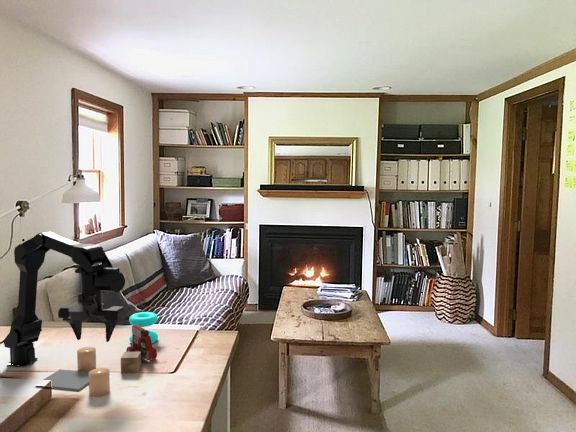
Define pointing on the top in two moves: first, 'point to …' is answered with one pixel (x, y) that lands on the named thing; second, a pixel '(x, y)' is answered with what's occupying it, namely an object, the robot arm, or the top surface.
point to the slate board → (69, 379)
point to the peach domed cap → (99, 382)
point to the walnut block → (130, 362)
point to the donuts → (144, 323)
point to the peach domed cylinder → (86, 359)
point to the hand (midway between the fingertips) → (93, 340)
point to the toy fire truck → (142, 343)
